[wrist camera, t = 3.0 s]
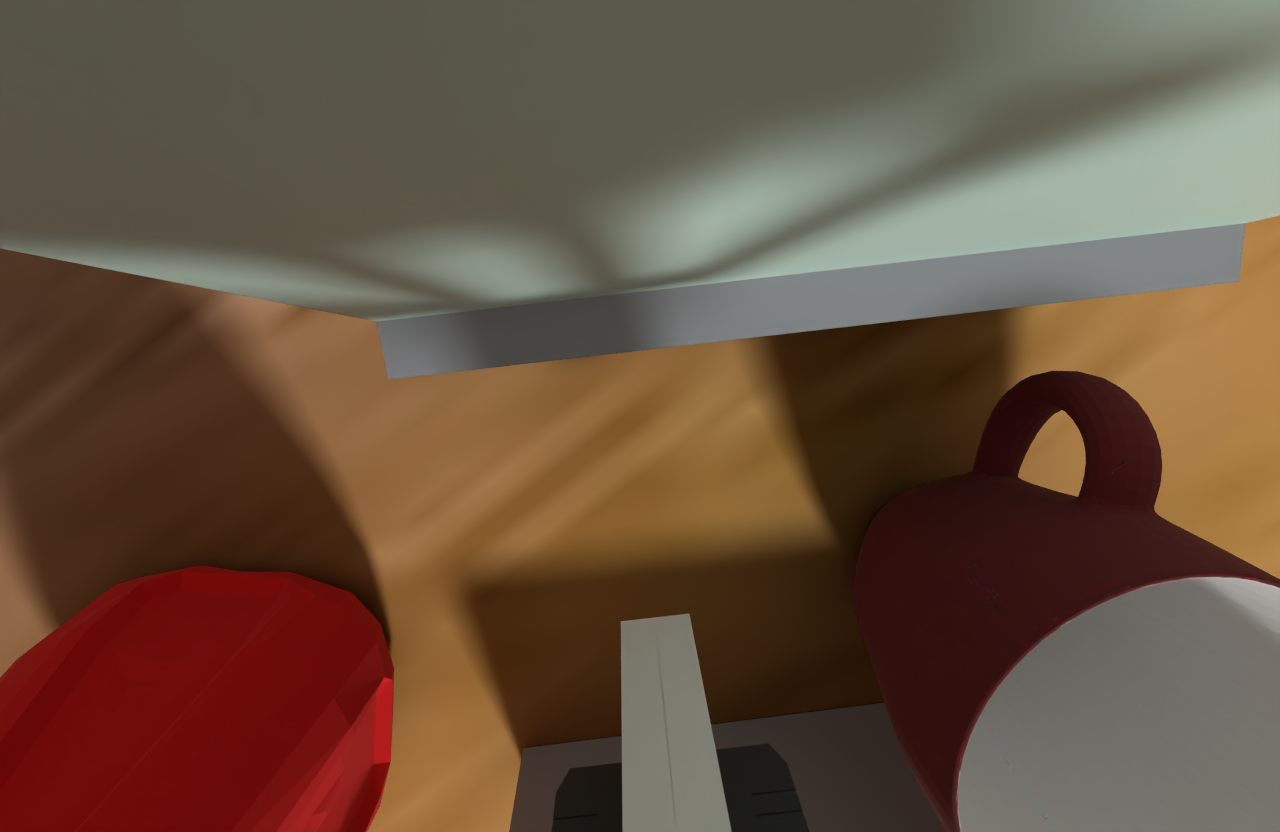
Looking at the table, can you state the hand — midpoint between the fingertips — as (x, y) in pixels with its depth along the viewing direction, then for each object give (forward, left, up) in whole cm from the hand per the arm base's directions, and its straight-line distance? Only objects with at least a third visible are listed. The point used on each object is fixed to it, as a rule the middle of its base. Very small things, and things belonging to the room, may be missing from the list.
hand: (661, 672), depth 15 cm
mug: (+9, 0, -7) cm, 12 cm away
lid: (+4, +10, +7) cm, 13 cm away
